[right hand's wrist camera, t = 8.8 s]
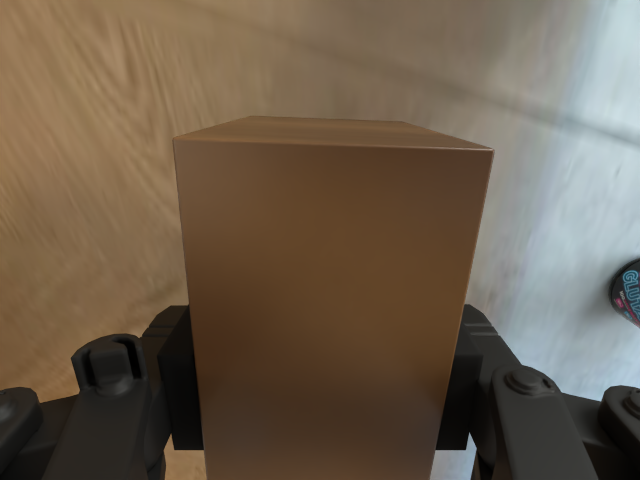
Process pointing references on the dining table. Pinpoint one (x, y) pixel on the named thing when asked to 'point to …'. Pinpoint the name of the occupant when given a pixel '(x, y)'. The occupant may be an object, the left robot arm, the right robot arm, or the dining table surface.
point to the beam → (326, 291)
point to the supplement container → (627, 292)
